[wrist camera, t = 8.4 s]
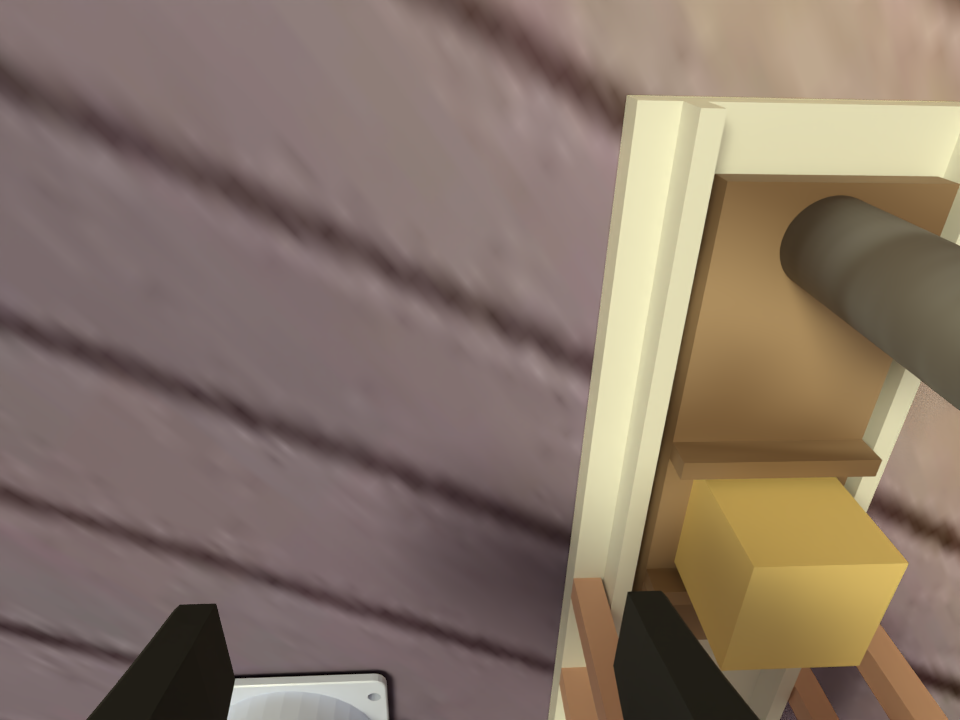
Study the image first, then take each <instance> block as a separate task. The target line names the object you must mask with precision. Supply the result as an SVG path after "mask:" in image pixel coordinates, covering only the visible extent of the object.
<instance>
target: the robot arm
mask: <svg viewBox="0 0 960 720" xmlns="http://www.w3.org/2000/svg"><path fill="white" fill-rule="evenodd" d="M613 667H614V673H615V678H616V684H617V689H618V695H619V700H620V705H621V710H622V715H623V720H760V719H759V718H758V717H757V716H756V714H755V713H754V712H753V711H752V709H751V708H750V707H749V706H748V704H747V703H746V702H745V701H744V699H743V698H742V697H741V696H740V694H739V693H738V692H737V691H736V689H735V688H734V687H733V686H732V684H731V683H730V682H729V681H728V679H727V678H726V677H725V676H724V674H723V673H722V672H721V670H720V669H719V668H718V666H717V665H716V664H715V663H714V661H713V660H712V659H711V657H710V656H709V655H708V653H707V652H706V650H705V649H704V648H703V646H702V645H701V644H700V642H699V641H698V640H697V638H696V637H695V636H694V634H693V633H692V631H691V630H690V629H689V627H688V626H687V625H686V623H685V622H684V620H683V619H682V618H681V616H680V615H679V613H678V612H677V610H676V609H675V608H674V606H673V605H672V603H671V602H670V600H669V599H668V598H667V596H666V595H665V594H664V593H663V592H662V591H630V592H627V597H626V602H625V607H624V613H623V618H622V623H621V628H620V633H619V638H618V643H617V649H616V654H615V659H614V664H613ZM87 720H389V708H388V694H387V681H386V678H385V677H383V676H382V675H380V674H375V673H371V674H344V675H317V676H290V677H262V678H235V677H234V673H233V669H232V665H231V661H230V657H229V653H228V649H227V645H226V641H225V637H224V633H223V629H222V625H221V621H220V617H219V613H218V609H217V605H216V604H189V605H179V606H178V607H177V608H176V609H175V610H174V611H173V612H172V613H171V615H170V616H169V617H168V619H167V620H166V621H165V623H164V624H163V625H162V626H161V628H160V629H159V630H158V632H157V633H156V634H155V635H154V637H153V638H152V639H151V641H150V642H149V643H148V644H147V646H146V647H145V648H144V650H143V651H142V652H141V653H140V655H139V656H138V657H137V659H136V660H135V661H134V662H133V664H132V665H131V666H130V667H129V669H128V670H127V671H126V672H125V674H124V675H123V676H122V677H121V679H120V680H119V681H118V682H117V684H116V685H115V686H114V687H113V688H112V690H111V691H110V692H109V693H108V694H107V696H106V697H105V698H104V699H103V700H102V702H101V703H100V704H99V705H98V706H97V708H96V709H95V710H94V711H93V712H92V714H91V715H90V716H89V717H88V718H87Z"/></svg>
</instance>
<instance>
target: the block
mask: <svg viewBox="0 0 960 720" xmlns="http://www.w3.org/2000/svg"><path fill="white" fill-rule="evenodd" d="M674 562H675V564H676V567H677V569H678V572H679V574H680V576H681V579H682V581H683V583H684V586H685V588H686V590H687V593H688V595H689V597H690V600H691V602H692V604H693V607H694V609H695V611H696V614H697V616H698V619H699V621H700V623H701V626H702V628H703V630H704V633H705V635H706V637H707V640H708V642H709V644H710V647H711V649H712V651H713V654H714V656H715V658H716V661H717V663H718V665H719V668H720V670H721V671H732V670H758V669H785V668H811V667H838V666H859V665H860V663H861V661H862V659H863V657H864V655H865V653H866V651H867V649H868V646H869V644H870V642H871V640H872V638H873V636H874V634H875V632H876V630H877V628H878V626H879V624H880V622H881V620H882V617H883V615H884V613H885V611H886V609H887V607H888V605H889V603H890V601H891V599H892V597H893V595H894V593H895V591H896V588H897V586H898V584H899V582H900V580H901V578H902V576H903V574H904V572H905V570H906V568H907V566H908V564H909V563H908V562H907V561H906V559H905V558H904V557H903V556H902V555H901V553H900V552H899V551H898V550H897V549H896V548H895V546H894V545H893V544H892V543H891V542H890V540H889V539H888V538H887V537H886V536H885V535H884V533H883V532H882V531H881V530H880V529H879V527H878V526H877V525H876V524H875V523H874V522H873V520H872V519H871V518H870V517H869V516H868V514H867V513H866V512H865V511H864V510H863V508H862V507H861V506H860V505H859V504H858V503H857V501H856V500H855V499H854V498H853V497H852V495H851V494H850V493H849V492H848V491H847V490H846V488H845V487H844V486H843V485H842V484H841V482H840V481H839V480H838V479H837V478H836V477H821V478H766V479H712V480H694V481H693V485H692V489H691V493H690V497H689V502H688V506H687V510H686V514H685V519H684V523H683V527H682V531H681V535H680V540H679V544H678V548H677V552H676V556H675V561H674Z"/></svg>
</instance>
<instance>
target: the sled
mask: <svg viewBox="0 0 960 720" xmlns="http://www.w3.org/2000/svg"><path fill="white" fill-rule="evenodd" d="M959 186H960V184H959V183H956V182H953V181H950V180H947V179H944V178H941V177H938V176H867V175H786V174H715V175H714V180H713V185H712V190H711V195H710V200H709V206H708V211H707V216H706V221H705V226H704V231H703V236H702V241H701V246H700V251H699V256H698V261H697V266H696V271H695V276H694V281H693V286H692V291H691V296H690V301H689V306H688V311H687V316H686V321H685V326H684V331H683V336H682V341H681V346H680V351H679V356H678V361H677V366H676V371H675V376H674V381H673V386H672V391H671V396H670V401H669V406H668V411H667V416H666V421H665V426H664V431H663V437H662V442H661V447H660V452H659V457H658V462H657V467H656V472H655V477H654V482H653V487H652V492H651V497H650V502H649V507H648V512H647V517H646V522H645V527H644V532H643V537H642V542H641V547H640V552H639V557H638V562H637V567H636V572H635V577H634V582H633V587H632V591H662V592H663V593H664V594H665V595H666V596H667V598H668V599H669V600H670V602H671V603H672V605H673V606H674V608H675V609H676V610H677V612H678V613H679V615H680V616H681V618H682V619H683V620H684V622H685V623H686V625H687V626H688V627H689V629H690V630H691V631H692V633H693V634H694V636H695V637H696V638H697V640H707V637H706V635H705V633H704V630H703V628H702V626H701V623H700V621H699V619H698V616H697V614H696V611H695V609H694V607H693V604H692V602H691V600H690V597H689V595H688V593H687V590H686V588H685V586H684V583H683V581H682V579H681V576H680V574H679V572H678V569H677V567H676V564H675V562H674V561H675V556H676V552H677V548H678V544H679V540H680V535H681V531H682V527H683V523H684V519H685V514H686V510H687V506H688V502H689V497H690V493H691V489H692V485H693V481H694V480H712V479H766V478H821V477H836V478H837V479H838V480H839V481H840V482H841V484H842V485H843V486H844V485H845V483H846V480H847V477H875V476H876V474H877V472H878V469H879V467H880V465H881V462H882V459H881V458H880V457H879V456H878V455H877V454H876V453H875V452H874V451H873V450H872V449H871V448H870V447H869V446H868V445H867V444H866V443H865V442H864V441H863V440H862V438H863V436H864V433H865V431H866V428H867V425H868V423H869V420H870V418H871V415H872V412H873V410H874V407H875V405H876V402H877V399H878V397H879V394H880V392H881V389H882V386H883V384H884V381H885V379H886V376H887V373H888V371H889V368H890V366H891V363H892V360H893V359H894V360H895V361H896V362H898V363H899V364H900V365H902V366H903V367H904V368H905V369H907V370H908V371H909V372H911V373H912V374H913V375H915V376H916V377H917V378H918V379H920V380H921V381H922V382H924V383H925V384H926V385H927V386H929V387H930V388H931V389H933V390H934V391H935V392H936V393H938V394H939V395H940V396H942V397H943V398H944V399H945V400H947V401H948V402H949V403H951V404H952V405H953V406H954V407H956V408H957V409H958V410H960V246H959V245H957V244H955V243H953V242H951V241H949V240H946V239H944V238H942V237H940V236H941V233H942V230H943V228H944V225H945V223H946V220H947V217H948V215H949V212H950V210H951V207H952V204H953V202H954V199H955V197H956V194H957V191H958V189H959Z"/></svg>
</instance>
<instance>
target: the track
mask: <svg viewBox="0 0 960 720" xmlns="http://www.w3.org/2000/svg"><path fill="white" fill-rule="evenodd" d="M715 174H786V175H867V176H938V177H941V178H944V179H947V180H950V181H953V182H956V183H959V184H960V102H948V101H898V100H849V99H799V98H749V97H699V96H649V95H627V98H626V106H625V114H624V122H623V130H622V138H621V146H620V154H619V162H618V169H617V177H616V185H615V193H614V201H613V209H612V217H611V225H610V233H609V241H608V249H607V256H606V264H605V272H604V280H603V288H602V296H601V304H600V312H599V320H598V328H597V336H596V344H595V351H594V359H593V367H592V375H591V383H590V391H589V399H588V407H587V415H586V423H585V431H584V438H583V446H582V454H581V462H580V470H579V478H578V486H577V494H576V502H575V510H574V518H573V526H572V533H571V541H570V549H569V557H568V565H567V573H566V581H565V589H564V597H563V605H562V613H561V621H560V628H559V636H558V644H557V652H556V660H555V668H554V676H553V684H552V692H551V700H550V708H549V715H548V720H623V715H622V710H621V705H620V700H619V695H618V689H617V684H616V678H615V673H614V667H613V664H614V659H615V654H616V649H617V643H618V638H619V633H620V628H621V623H622V618H623V613H624V607H625V602H626V597H627V592H630V591H632V587H633V582H634V577H635V572H636V567H637V562H638V557H639V552H640V547H641V542H642V537H643V532H644V527H645V522H646V517H647V512H648V507H649V502H650V497H651V492H652V487H653V482H654V477H655V472H656V467H657V462H658V457H659V452H660V447H661V442H662V437H663V431H664V426H665V421H666V416H667V411H668V406H669V401H670V396H671V391H672V386H673V381H674V376H675V371H676V366H677V361H678V356H679V351H680V346H681V341H682V336H683V331H684V326H685V321H686V316H687V311H688V306H689V301H690V296H691V291H692V286H693V281H694V276H695V271H696V266H697V261H698V256H699V251H700V246H701V241H702V236H703V231H704V226H705V221H706V216H707V211H708V206H709V200H710V195H711V190H712V185H713V180H714V175H715ZM940 237H942V238H944V239H946V240H949V241H951V242H953V243H955V244H957V245H959V246H960V186H959V189H958V191H957V194H956V197H955V199H954V202H953V204H952V207H951V210H950V212H949V215H948V217H947V220H946V223H945V225H944V228H943V230H942V233H941V236H940ZM920 382H921V380H920V379H918V378H917V377H916V376H915V375H913V374H912V373H911V372H909V371H908V370H907V369H905V368H904V367H903V366H902V365H900V364H899V363H898V362H896V361H895V360H894V359H893V360H892V363H891V366H890V368H889V371H888V373H887V376H886V379H885V381H884V384H883V386H882V389H881V392H880V394H879V397H878V399H877V402H876V405H875V407H874V410H873V412H872V415H871V418H870V420H869V423H868V425H867V428H866V431H865V433H864V436H863V438H862V440H863V441H864V442H865V443H866V444H867V445H868V446H869V447H870V448H871V449H872V450H873V451H874V452H875V453H876V454H877V455H878V456H879V457H880V458H881V459H882V462H881V465H880V467H879V469H878V472H877V474H876V476H875V477H847V480H846V483H845V485H844V487H845V488H846V490H847V491H848V492H849V493H850V494H851V495H852V497H853V498H854V499H855V500H856V501H857V503H858V504H859V505H860V506H861V507H862V508H863V510H864V511H865V512H867V510H868V507H869V505H870V502H871V500H872V498H873V495H874V493H875V490H876V488H877V486H878V483H879V481H880V478H881V476H882V474H883V471H884V469H885V466H886V464H887V462H888V459H889V457H890V454H891V452H892V450H893V447H894V445H895V442H896V440H897V438H898V435H899V433H900V430H901V428H902V426H903V423H904V421H905V418H906V416H907V414H908V411H909V409H910V406H911V404H912V402H913V399H914V397H915V394H916V392H917V390H918V387H919V385H920ZM698 641H699V642H700V644H701V645H702V646H703V648H704V649H705V650H706V652H707V653H708V655H709V656H710V657H711V659H712V660H713V661H714V663H715V664H716V665H717V666H718V668H719V665H718V663H717V661H716V658H715V656H714V654H713V651H712V649H711V647H710V644H709V642H708V640H698ZM856 667H857V668H858V670H859V671H860V673H861V675H862V676H863V678H864V679H865V681H866V682H867V684H868V686H869V687H870V689H871V690H872V692H873V693H874V695H875V697H876V698H877V700H878V701H879V703H880V705H881V706H882V708H883V709H884V711H885V712H886V714H887V716H888V717H889V719H890V720H948V718H947V717H946V716H945V714H944V713H943V711H942V710H941V709H940V707H939V706H938V704H937V703H936V702H935V700H934V699H933V697H932V696H931V695H930V693H929V692H928V690H927V689H926V688H925V686H924V685H923V683H922V682H921V681H920V679H919V678H918V676H917V675H916V674H915V672H914V671H913V669H912V668H911V667H910V665H909V664H908V662H907V661H906V660H905V658H904V657H903V655H902V654H901V653H900V651H899V650H898V648H897V647H896V646H895V644H894V643H893V641H892V640H891V639H890V637H889V636H888V634H887V633H886V632H885V630H884V629H883V628H882V626H881V625H880V624H879V626H878V628H877V630H876V632H875V634H874V636H873V638H872V640H871V642H870V644H869V646H868V649H867V651H866V653H865V655H864V657H863V659H862V661H861V663H860V665H859V666H856ZM719 669H720V668H719ZM721 672H722V673H723V674H724V676H725V677H726V678H727V679H728V681H729V682H730V683H731V684H732V686H733V687H734V688H735V689H736V691H737V692H738V693H739V694H740V696H741V697H742V698H743V699H744V701H745V702H746V703H747V704H748V706H749V707H750V708H751V709H752V711H753V712H754V713H755V714H756V716H757V717H758V718H759V719H760V720H780V718H781V716H782V713H783V711H784V709H785V706H786V704H787V701H788V702H789V704H790V706H791V708H792V710H793V712H794V714H795V716H796V718H797V720H839V718H838V716H837V715H836V713H835V711H834V709H833V707H832V706H831V704H830V702H829V700H828V699H827V697H826V695H825V693H824V691H823V690H822V688H821V686H820V684H819V683H818V681H817V679H816V677H815V675H814V674H813V672H812V670H811V668H785V669H758V670H732V671H721Z"/></svg>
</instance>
